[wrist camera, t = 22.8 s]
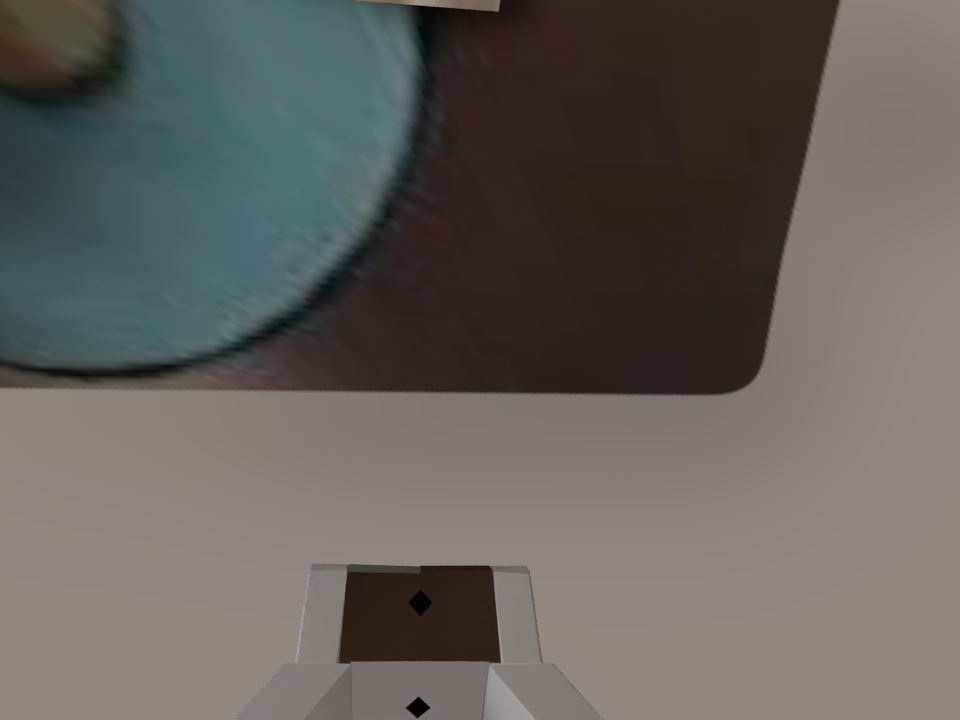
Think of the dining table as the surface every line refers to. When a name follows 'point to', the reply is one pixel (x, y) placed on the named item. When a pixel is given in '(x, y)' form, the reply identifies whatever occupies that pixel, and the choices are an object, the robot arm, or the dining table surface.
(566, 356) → the dining table surface
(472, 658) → the robot arm
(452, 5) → the domino
